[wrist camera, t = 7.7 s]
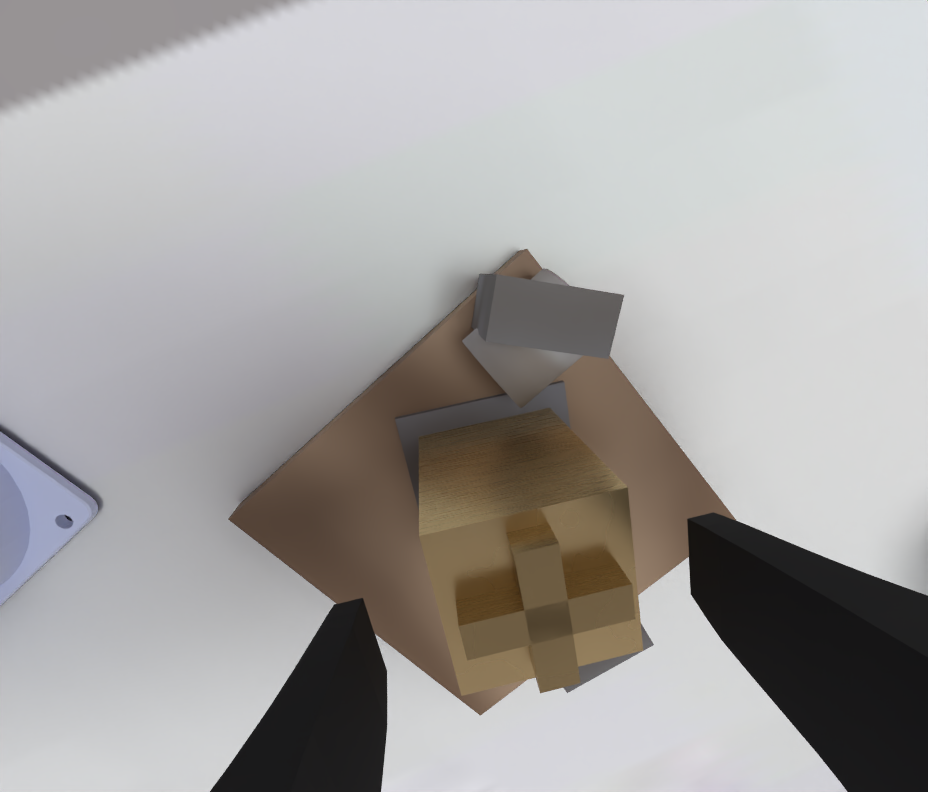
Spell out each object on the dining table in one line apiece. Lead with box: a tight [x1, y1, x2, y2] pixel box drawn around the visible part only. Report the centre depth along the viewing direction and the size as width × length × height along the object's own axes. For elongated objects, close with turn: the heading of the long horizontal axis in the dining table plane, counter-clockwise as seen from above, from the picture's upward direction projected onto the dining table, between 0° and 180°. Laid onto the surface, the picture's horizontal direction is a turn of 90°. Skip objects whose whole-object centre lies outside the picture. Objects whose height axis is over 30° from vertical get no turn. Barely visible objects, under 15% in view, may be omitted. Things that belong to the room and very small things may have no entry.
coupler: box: [419, 408, 643, 696], centre depth 12 cm, size 4×4×6 cm
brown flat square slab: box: [229, 249, 736, 715], centre depth 14 cm, size 14×13×4 cm
